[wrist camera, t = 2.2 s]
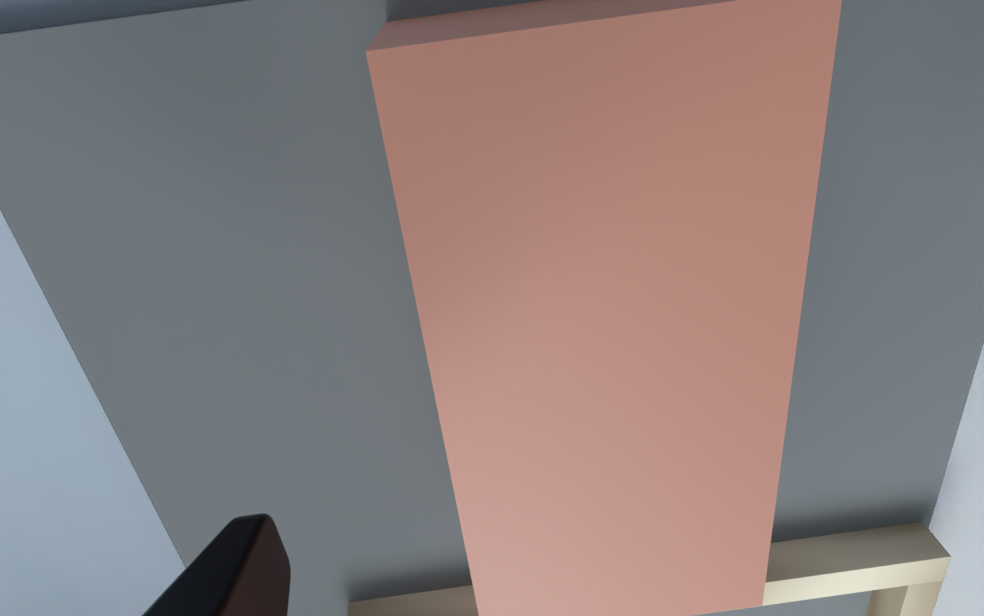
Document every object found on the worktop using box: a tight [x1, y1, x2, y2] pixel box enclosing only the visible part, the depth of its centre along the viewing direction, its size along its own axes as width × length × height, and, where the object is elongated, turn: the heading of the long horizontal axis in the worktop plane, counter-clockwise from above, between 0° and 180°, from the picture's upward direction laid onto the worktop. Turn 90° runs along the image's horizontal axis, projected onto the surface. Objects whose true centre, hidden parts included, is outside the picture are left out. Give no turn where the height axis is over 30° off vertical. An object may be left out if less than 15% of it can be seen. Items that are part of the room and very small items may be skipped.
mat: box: [0, 0, 984, 616], centre depth 15 cm, size 17×23×1 cm
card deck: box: [366, 0, 842, 616], centre depth 11 cm, size 5×10×3 cm, turn 7°
